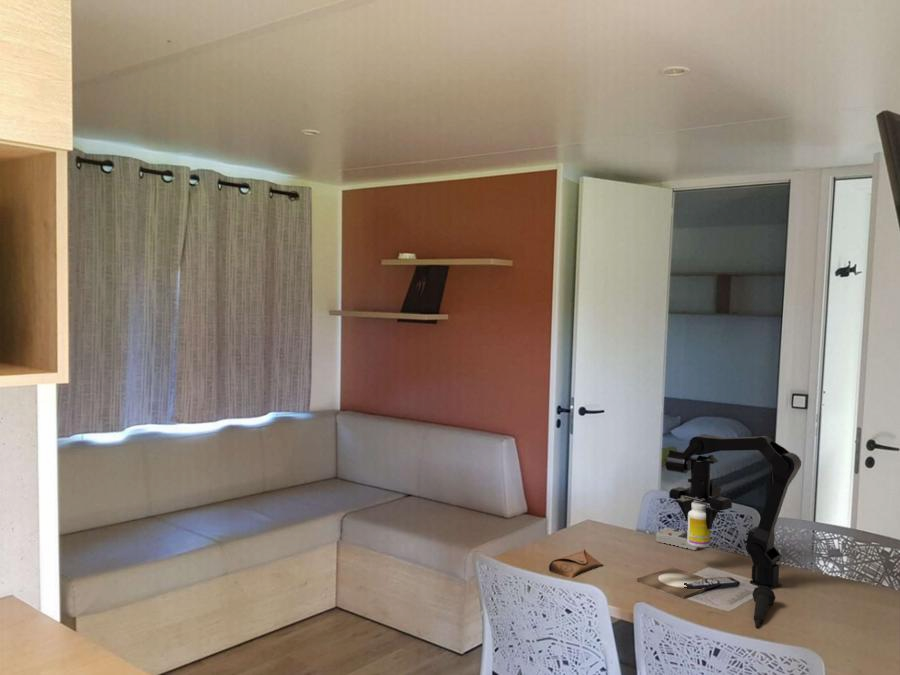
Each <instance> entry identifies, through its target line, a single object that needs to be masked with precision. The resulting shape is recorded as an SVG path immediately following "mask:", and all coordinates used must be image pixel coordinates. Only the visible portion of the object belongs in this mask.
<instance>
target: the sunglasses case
mask: <svg viewBox="0 0 900 675" xmlns="http://www.w3.org/2000/svg"><path fill="white" fill-rule="evenodd" d="M603 566H604V564H603V563H601V562H600V561H599V560H597V559H596V557H593V555H591V554H590V553H588V552H587V551H586V549H583V550H581V551H579V552H575V553H572V554H569V555H566V556H563V557H561V558H556V559H554V560H552V561H551V562H550V563H549V565H548V570H549V572H550V573H553V574H556V575H559V576H562V577H565V578H569V579H573V578H575V577H577V576H579V575H581V574H583V573H586V572H588V571H591V570H594V569H596V568H600V567H603Z"/></svg>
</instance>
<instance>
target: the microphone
mask: <svg viewBox="0 0 900 675" xmlns="http://www.w3.org/2000/svg"><path fill="white" fill-rule="evenodd" d="M751 595H752V598H753V601H754V602H755V604H754V605H755V606H754V612H753V621H754V626H755V628H756V629H759V627H760V625H762V624H763V622H764V620H765V617H766V614H767V612H768V609H769V607H771V606H773V605H774V603H775V601H776V595H775V592H774V590H772V589H770V588H768V587H767V586H757V587H754V590H753V592H752V594H751Z"/></svg>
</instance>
